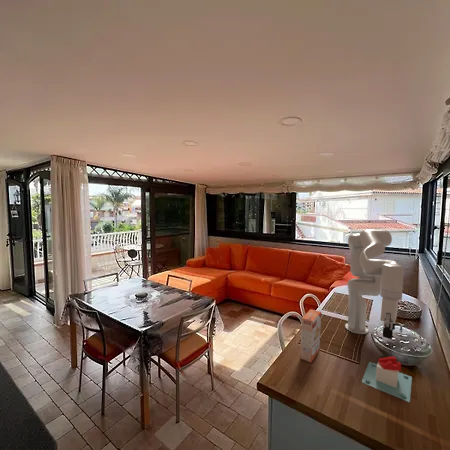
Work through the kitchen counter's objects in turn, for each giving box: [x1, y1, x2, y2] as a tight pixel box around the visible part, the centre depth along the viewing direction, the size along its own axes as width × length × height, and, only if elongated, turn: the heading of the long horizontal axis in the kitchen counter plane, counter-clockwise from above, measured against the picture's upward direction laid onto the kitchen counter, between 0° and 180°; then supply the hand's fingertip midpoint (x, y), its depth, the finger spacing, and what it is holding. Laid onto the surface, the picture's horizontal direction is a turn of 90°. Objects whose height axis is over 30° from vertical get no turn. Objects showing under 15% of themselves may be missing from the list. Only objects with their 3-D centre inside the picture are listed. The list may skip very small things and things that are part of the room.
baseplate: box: [361, 361, 413, 403], centre depth 100 cm, size 18×16×2 cm
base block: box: [376, 362, 399, 388], centre depth 100 cm, size 7×7×6 cm
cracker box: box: [299, 309, 322, 363], centre depth 119 cm, size 14×6×21 cm, turn 142°
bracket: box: [377, 356, 402, 372], centre depth 99 cm, size 6×5×3 cm
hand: (388, 333), depth 99 cm, fingers open, 9 cm apart
